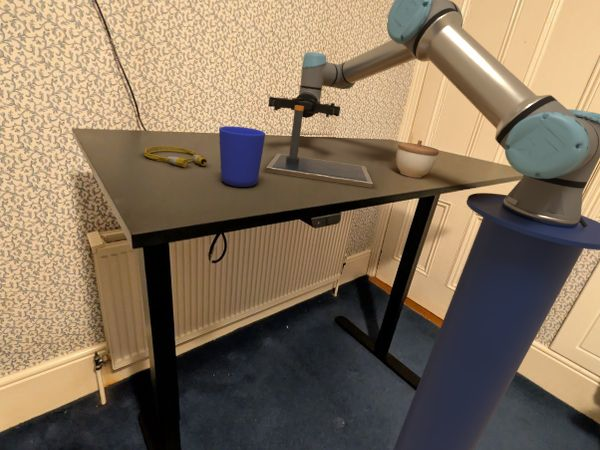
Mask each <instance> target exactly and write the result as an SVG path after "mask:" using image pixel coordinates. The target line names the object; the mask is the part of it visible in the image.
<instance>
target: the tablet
mask: <svg viewBox="0 0 600 450" xmlns="http://www.w3.org/2000/svg"><path fill="white" fill-rule="evenodd" d="M287 156H289V154H285V153H280V152H279V153H276V155H275V156H274V157H273V158H272V160H271V161H270V162H269V163H268V165H267V166H265V172H266V173H269V174H270V173H271V174H275V175H276V174H277V175H283V176H290V177H297V178H302V179H310V180H315V181H316V180H317V181H323V182H330V183H337V184H343V185H350V186H356V187H362V188H369V189H372V188H373V185H374V183H373V180H372V178H371V176H370V174H369V172H368V170H367V168H366V165H358V164H352V163H351V164H350V163H345V162H337V161H332V160H324V159H319V158H312V157H305V156H299V155H297V157H299V158H300V159H299V163H298V164H292V163H288V162H286V158H287Z"/></svg>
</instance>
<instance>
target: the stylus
mask: <svg viewBox="0 0 600 450" xmlns="http://www.w3.org/2000/svg"><path fill="white" fill-rule="evenodd" d="M294 110H295V111H294ZM294 110H293V111H294V112H293V121H292V129H291V138H290V146H289V147H290V148H289V154H288V155H289V156H287V158H286V162H288V163H292V164H298V163H299V159H300V158H299V157H300V156H299V148H300V139H301V131H302V125H303V123H302V122H303V117H302V116H303V110H304V106H299V105H295V109H294ZM297 156H299V157H297Z"/></svg>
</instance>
